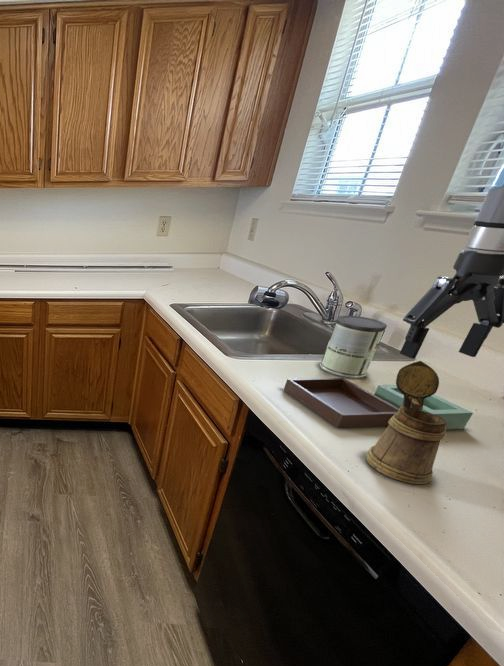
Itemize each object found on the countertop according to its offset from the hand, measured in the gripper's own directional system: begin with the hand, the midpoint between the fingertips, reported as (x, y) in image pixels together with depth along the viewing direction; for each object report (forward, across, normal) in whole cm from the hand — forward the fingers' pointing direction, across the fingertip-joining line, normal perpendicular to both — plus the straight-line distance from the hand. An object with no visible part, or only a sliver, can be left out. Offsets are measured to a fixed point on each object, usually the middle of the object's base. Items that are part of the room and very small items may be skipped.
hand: (437, 355), depth 87 cm
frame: (+14, -2, 0) cm, 15 cm away
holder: (+14, +13, -4) cm, 20 cm away
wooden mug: (+15, +19, +16) cm, 29 cm away
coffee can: (+15, -4, -23) cm, 28 cm away
